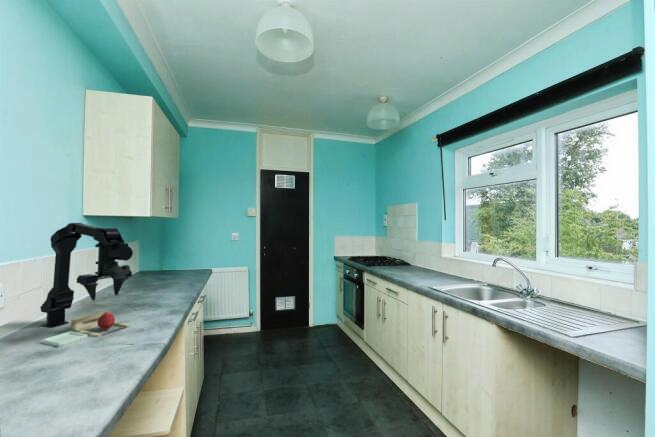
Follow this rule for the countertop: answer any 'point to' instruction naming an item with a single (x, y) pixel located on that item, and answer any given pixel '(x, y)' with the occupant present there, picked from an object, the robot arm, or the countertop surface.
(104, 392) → the countertop surface
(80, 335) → the tray
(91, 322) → the open rectangular frame
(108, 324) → the onion
